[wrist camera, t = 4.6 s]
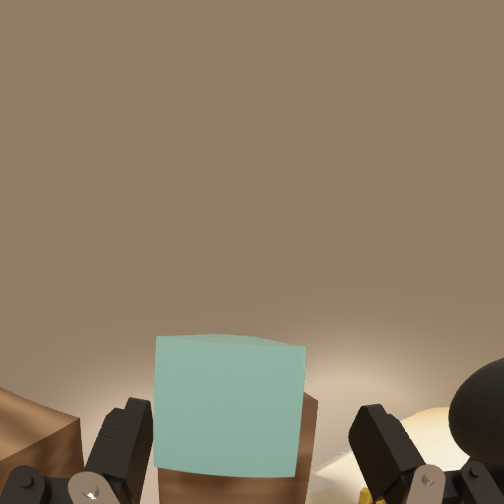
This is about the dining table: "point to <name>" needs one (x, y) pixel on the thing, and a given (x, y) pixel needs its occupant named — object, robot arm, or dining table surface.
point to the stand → (246, 488)
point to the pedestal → (38, 439)
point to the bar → (227, 405)
